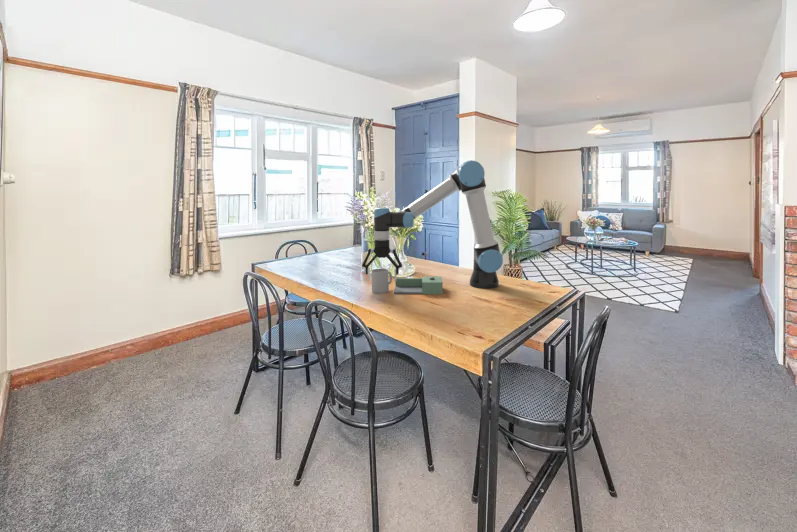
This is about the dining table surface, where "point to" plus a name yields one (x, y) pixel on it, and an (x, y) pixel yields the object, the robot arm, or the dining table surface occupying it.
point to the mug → (380, 280)
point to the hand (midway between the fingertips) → (382, 280)
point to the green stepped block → (419, 285)
